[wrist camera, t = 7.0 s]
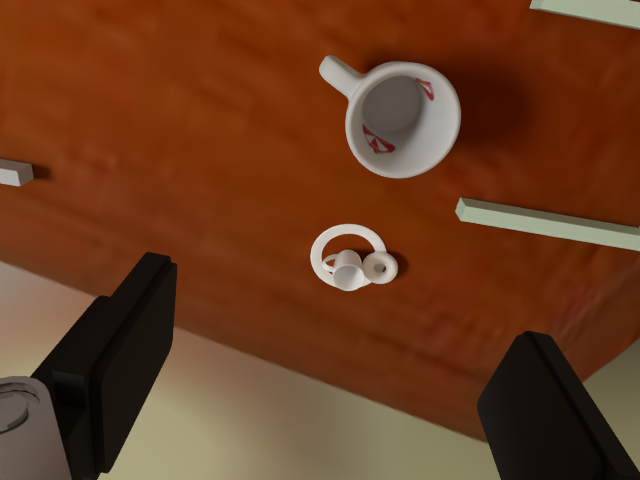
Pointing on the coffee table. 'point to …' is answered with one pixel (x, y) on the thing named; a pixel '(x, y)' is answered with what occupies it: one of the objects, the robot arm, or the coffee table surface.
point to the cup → (397, 115)
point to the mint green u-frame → (596, 5)
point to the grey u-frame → (15, 172)
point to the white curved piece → (353, 260)
